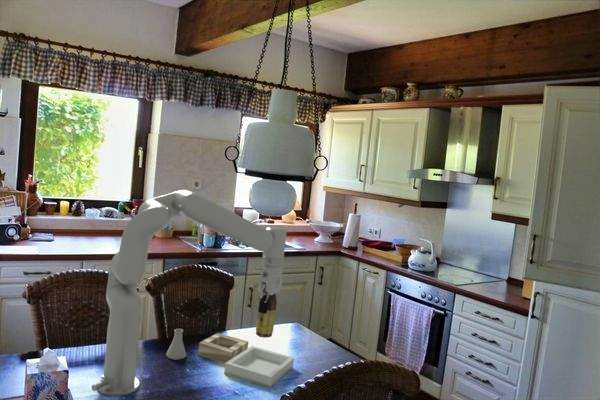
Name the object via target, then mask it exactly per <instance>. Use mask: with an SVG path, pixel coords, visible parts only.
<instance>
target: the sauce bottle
mask: <svg viewBox="0 0 600 400" xmlns="http://www.w3.org/2000/svg"><path fill="white" fill-rule="evenodd" d="M264 293H267V292H264ZM274 295H275V294H273V295H269V297H268V301H267V302H268V309H267V313H266V314H264V313H261V312H258V311H257V319H256V326H255V330H256V331H255V334H256V336H257V337H259V338H263V339H264V338H266V339H267V338H271V337H272V336H273V334H274V328H275V319H276V313H277V304H278V303H277V299H276V298H275V296H274ZM263 296H265V298H266V295H263Z"/></svg>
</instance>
